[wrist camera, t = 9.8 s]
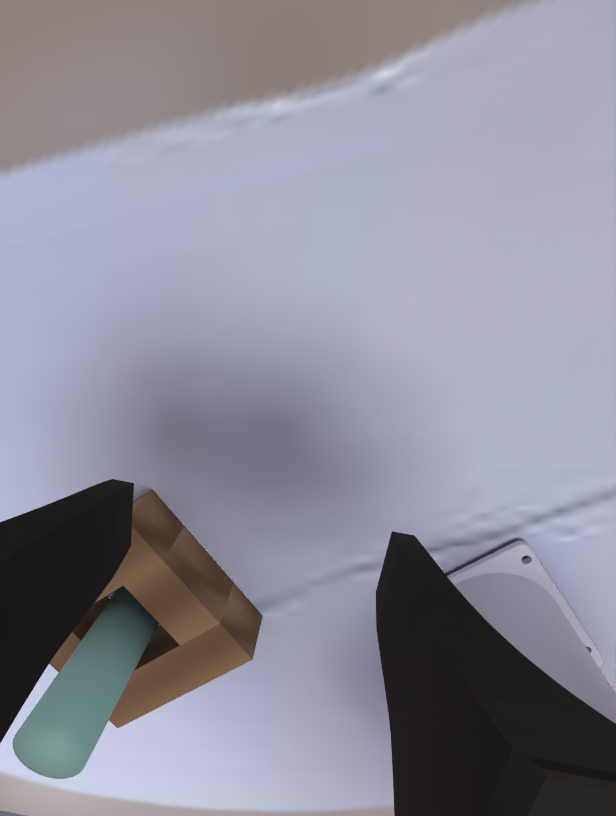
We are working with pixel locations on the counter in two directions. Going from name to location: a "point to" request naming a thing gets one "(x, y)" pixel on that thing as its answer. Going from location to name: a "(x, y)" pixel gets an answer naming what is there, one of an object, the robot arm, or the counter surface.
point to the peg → (85, 690)
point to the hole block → (174, 613)
